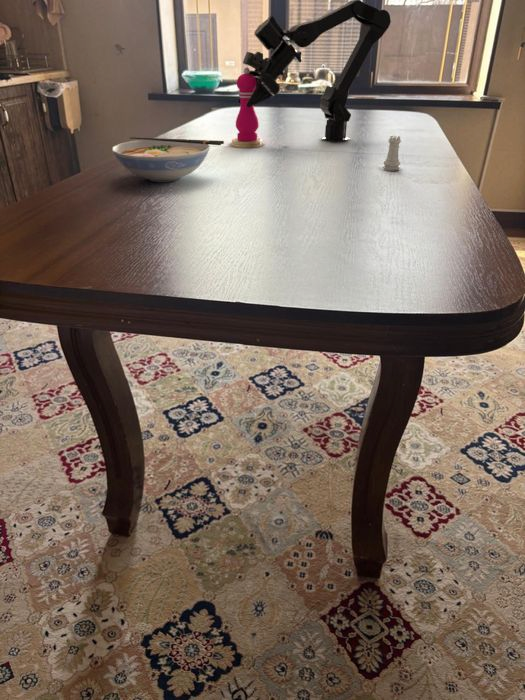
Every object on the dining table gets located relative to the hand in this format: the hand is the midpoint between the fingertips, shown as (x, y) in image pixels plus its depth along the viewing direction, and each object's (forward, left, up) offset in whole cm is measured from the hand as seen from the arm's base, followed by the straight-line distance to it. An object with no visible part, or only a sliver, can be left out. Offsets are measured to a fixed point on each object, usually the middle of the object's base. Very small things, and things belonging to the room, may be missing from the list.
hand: (242, 104), depth 158 cm
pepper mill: (-1, 0, -10) cm, 10 cm away
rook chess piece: (-12, +50, -12) cm, 53 cm away
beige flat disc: (-1, 0, -12) cm, 12 cm away
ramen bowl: (+41, +25, -12) cm, 50 cm away
